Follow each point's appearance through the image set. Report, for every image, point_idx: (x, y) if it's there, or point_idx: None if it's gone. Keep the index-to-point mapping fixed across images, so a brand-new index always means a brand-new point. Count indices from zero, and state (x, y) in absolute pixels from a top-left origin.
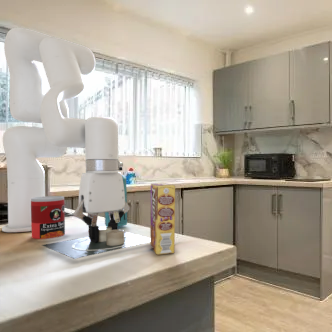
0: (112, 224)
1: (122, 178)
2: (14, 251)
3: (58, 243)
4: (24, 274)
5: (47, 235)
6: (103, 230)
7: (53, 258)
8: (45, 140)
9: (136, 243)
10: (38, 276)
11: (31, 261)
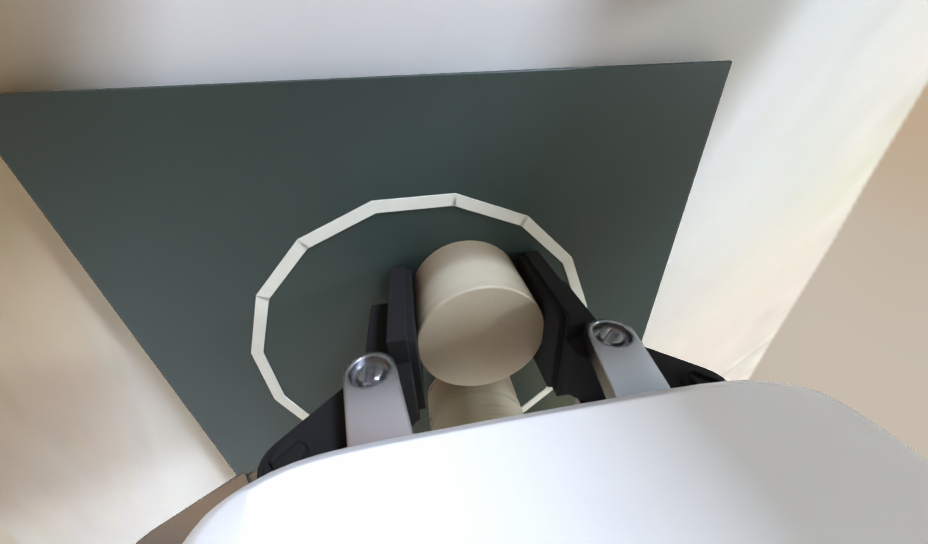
0: (549, 372)
1: None
2: None
3: (144, 160)
4: (70, 511)
5: None
6: (456, 381)
7: (160, 398)
8: None
9: None
10: (134, 534)
11: (38, 391)
